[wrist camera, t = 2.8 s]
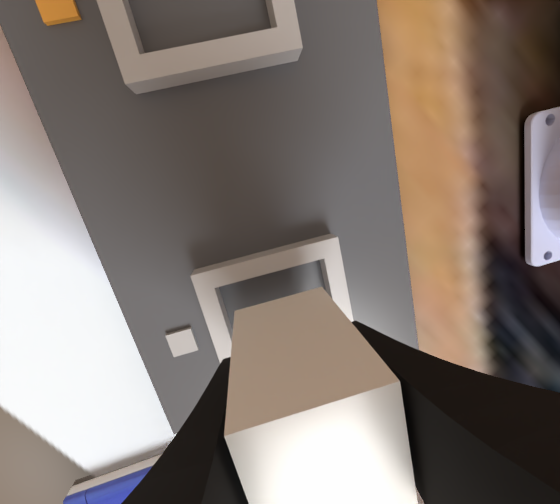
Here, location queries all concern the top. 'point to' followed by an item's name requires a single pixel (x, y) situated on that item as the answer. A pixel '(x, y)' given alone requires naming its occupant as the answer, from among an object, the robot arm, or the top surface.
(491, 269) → the top surface
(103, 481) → the hard drive
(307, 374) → the plug
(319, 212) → the port panel
